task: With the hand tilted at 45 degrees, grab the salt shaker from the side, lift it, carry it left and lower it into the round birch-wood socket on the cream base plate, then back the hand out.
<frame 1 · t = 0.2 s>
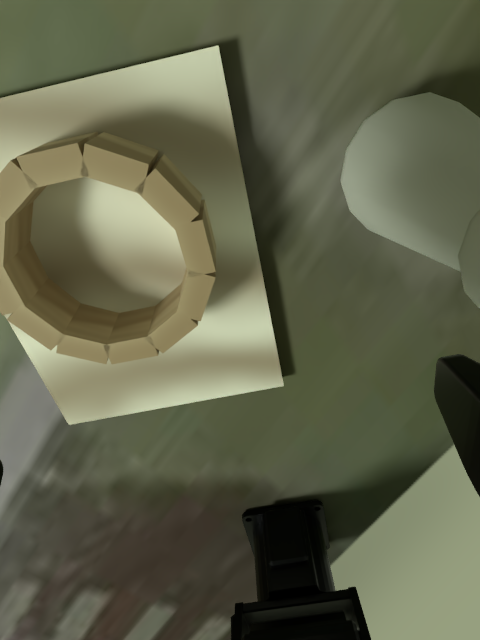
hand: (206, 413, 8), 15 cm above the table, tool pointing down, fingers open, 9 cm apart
socket: (115, 238, 21), on the table
salt shaker: (389, 158, 20), on the table
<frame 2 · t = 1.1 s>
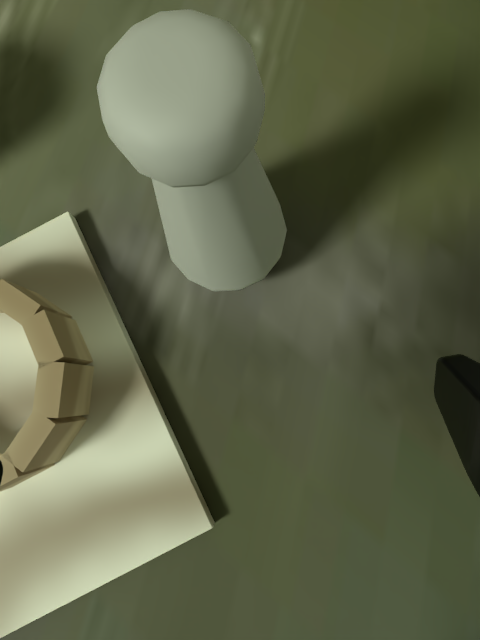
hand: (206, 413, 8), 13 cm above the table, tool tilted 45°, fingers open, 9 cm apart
socket: (8, 385, 23), on the table
salt shaker: (232, 250, 23), on the table
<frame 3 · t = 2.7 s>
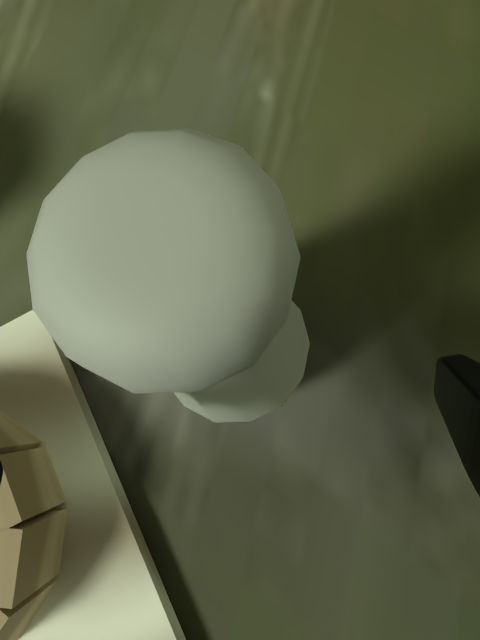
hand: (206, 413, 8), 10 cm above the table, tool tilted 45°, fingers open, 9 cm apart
salt shaker: (239, 353, 19), on the table
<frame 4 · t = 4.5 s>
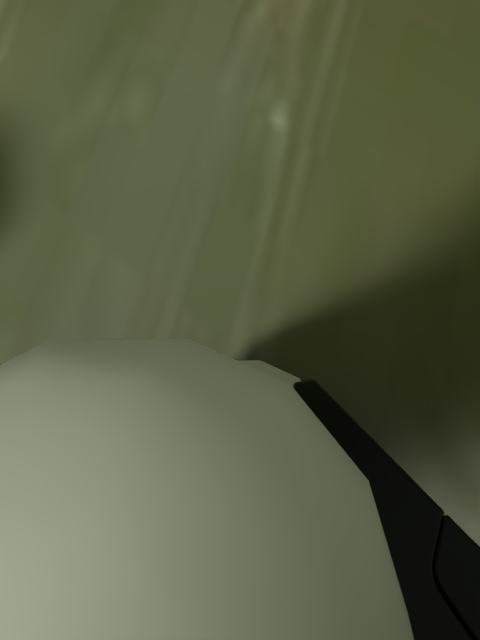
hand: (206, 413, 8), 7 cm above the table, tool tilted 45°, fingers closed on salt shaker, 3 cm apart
salt shaker: (247, 447, 15), on the table, touching gripper
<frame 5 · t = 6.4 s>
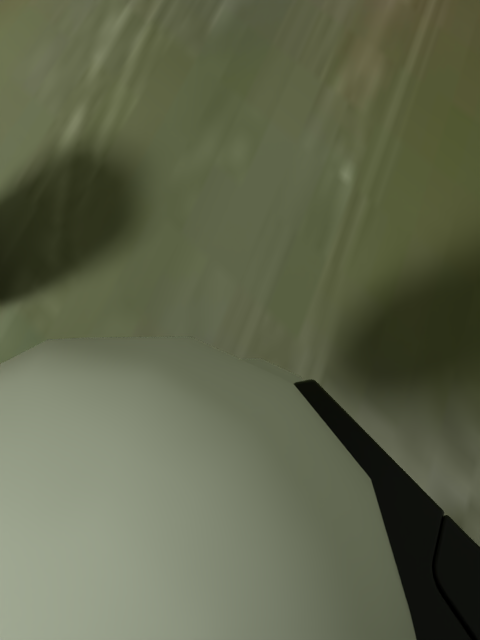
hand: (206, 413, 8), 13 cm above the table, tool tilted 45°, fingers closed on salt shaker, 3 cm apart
salt shaker: (248, 445, 15), point 6 cm above the table, touching gripper
when the fingers open (9 cm above the table, at t = 8.7 s): salt shaker stays where it is, resting on socket.
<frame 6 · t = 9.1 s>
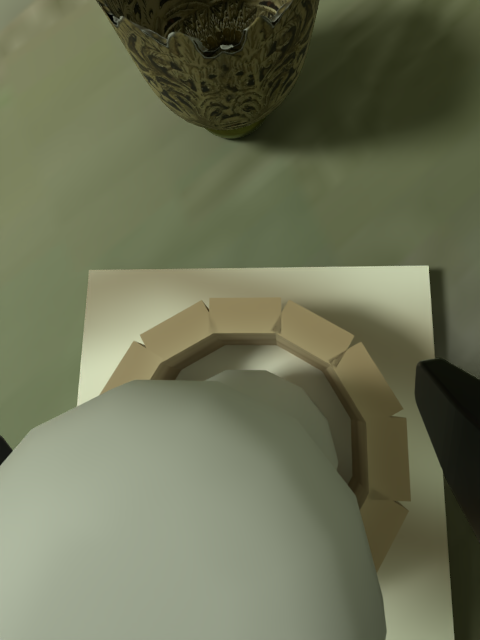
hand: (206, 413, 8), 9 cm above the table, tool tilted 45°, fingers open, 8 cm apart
cup: (234, 113, 20), on the table
socket: (251, 442, 17), on the table
salt shaker: (251, 449, 16), point 1 cm above the table, touching socket
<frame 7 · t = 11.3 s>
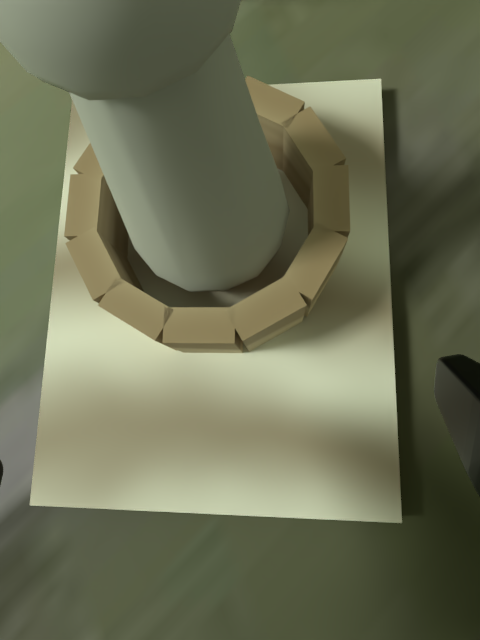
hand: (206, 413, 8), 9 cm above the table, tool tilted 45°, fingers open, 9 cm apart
socket: (219, 241, 18), on the table
salt shaker: (218, 240, 18), point 1 cm above the table, touching socket
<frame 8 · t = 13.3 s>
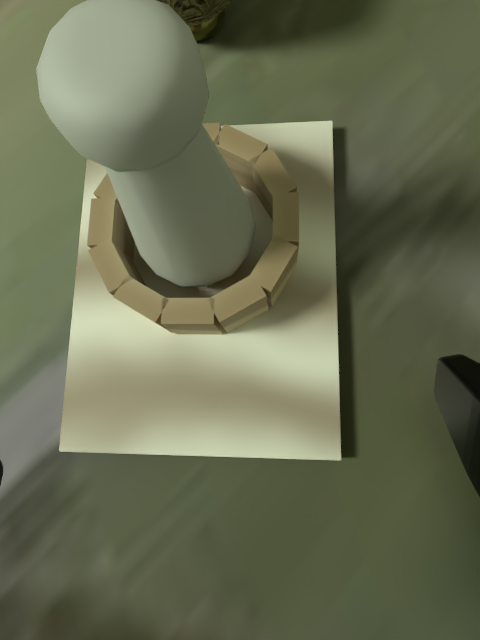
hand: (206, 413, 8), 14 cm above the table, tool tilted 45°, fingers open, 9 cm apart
cup: (198, 24, 27), on the table
socket: (205, 248, 23), on the table
salt shaker: (205, 247, 23), point 1 cm above the table, touching socket
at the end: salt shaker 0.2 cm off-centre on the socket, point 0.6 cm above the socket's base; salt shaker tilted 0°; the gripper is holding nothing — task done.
